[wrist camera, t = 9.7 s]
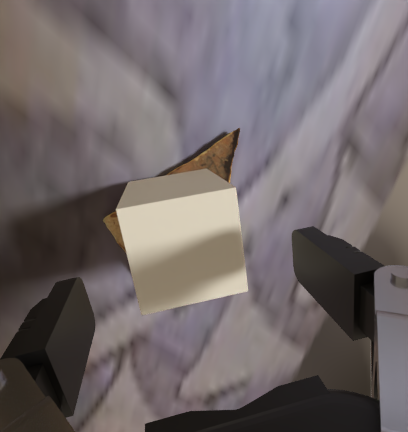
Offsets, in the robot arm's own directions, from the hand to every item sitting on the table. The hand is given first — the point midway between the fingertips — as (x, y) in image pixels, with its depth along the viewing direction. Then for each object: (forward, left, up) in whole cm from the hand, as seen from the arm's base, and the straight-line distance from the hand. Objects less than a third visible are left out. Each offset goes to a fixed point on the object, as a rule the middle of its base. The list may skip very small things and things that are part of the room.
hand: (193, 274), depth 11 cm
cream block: (0, 0, -9) cm, 9 cm away
